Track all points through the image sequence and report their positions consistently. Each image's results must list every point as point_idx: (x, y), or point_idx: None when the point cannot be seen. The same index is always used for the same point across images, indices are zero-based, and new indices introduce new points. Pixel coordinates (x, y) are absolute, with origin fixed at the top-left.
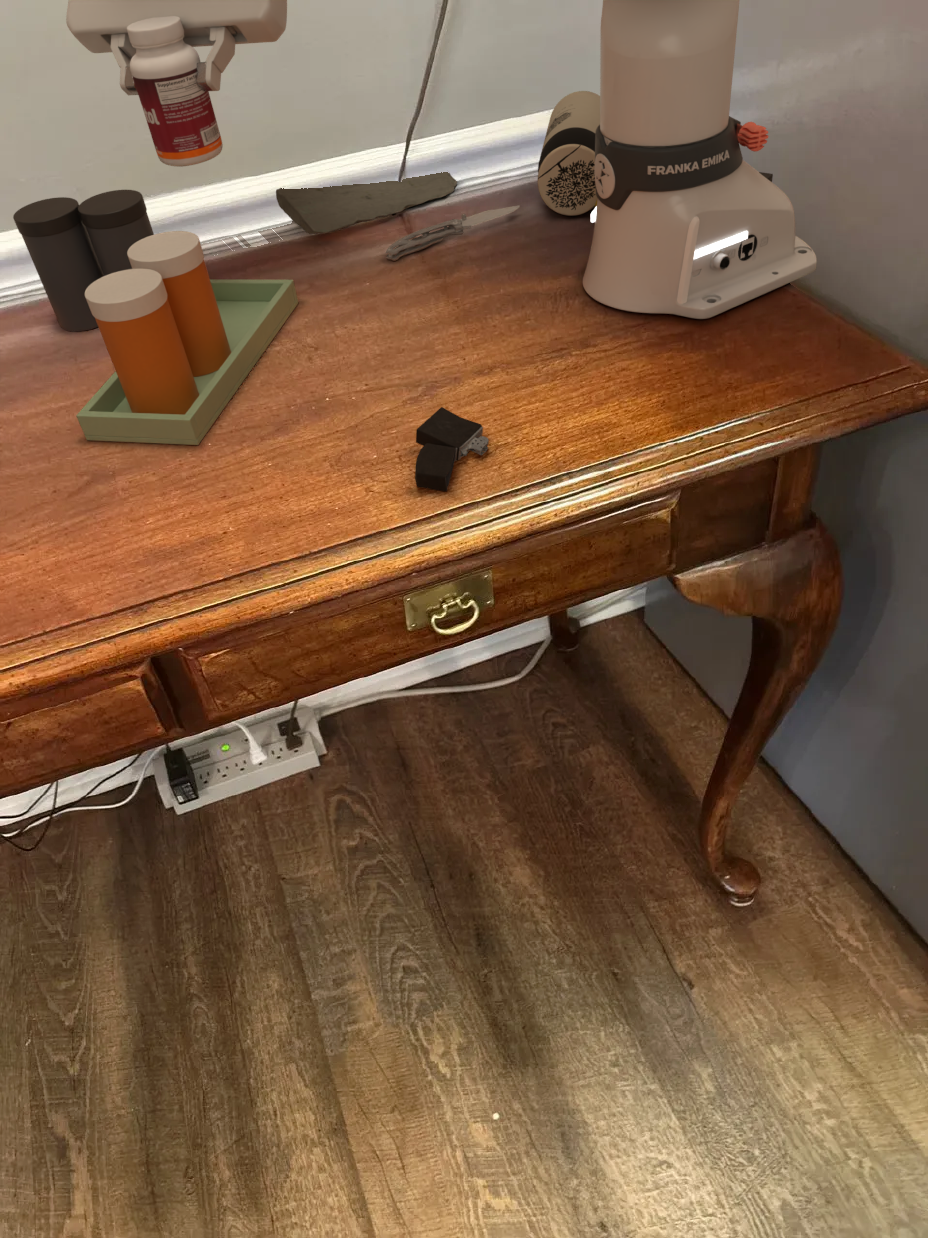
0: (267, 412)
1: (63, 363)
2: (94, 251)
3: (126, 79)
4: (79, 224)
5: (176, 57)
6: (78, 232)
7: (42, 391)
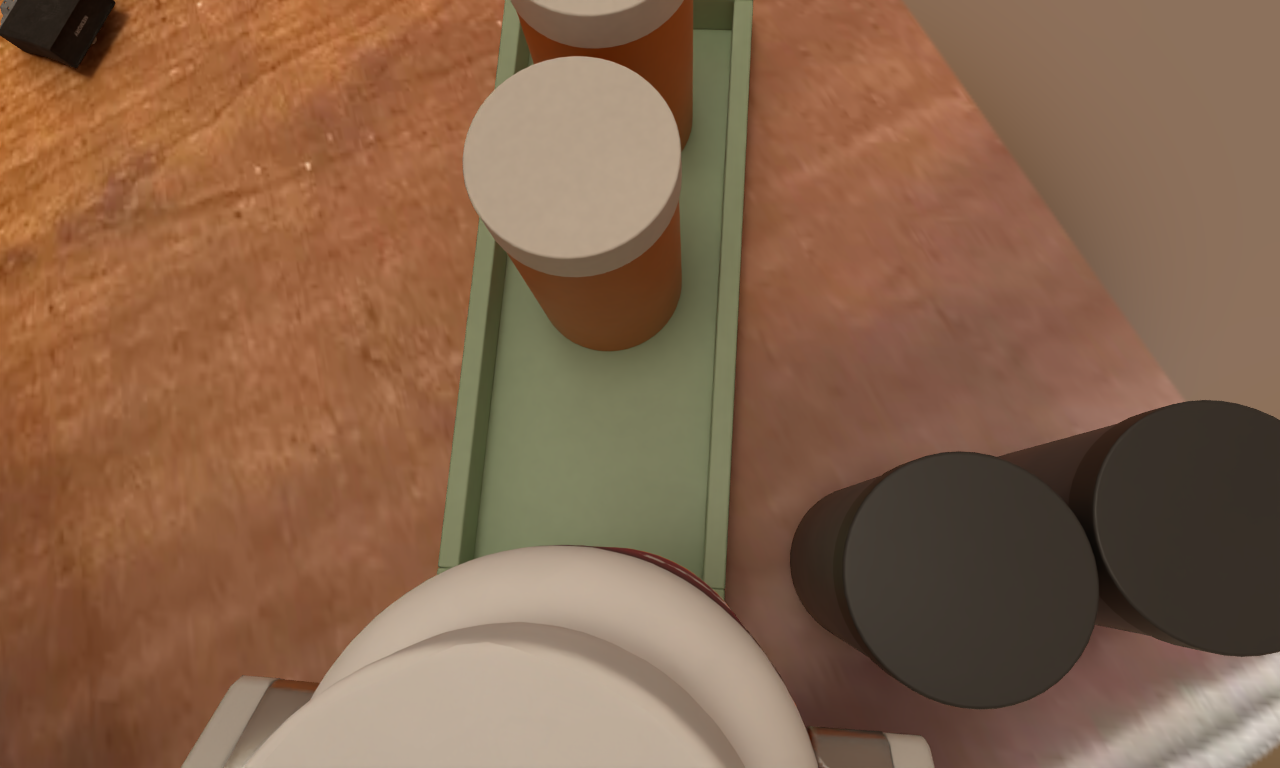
0: (416, 120)
1: (967, 299)
2: None
3: (876, 760)
4: None
5: (351, 663)
6: None
7: (949, 184)
